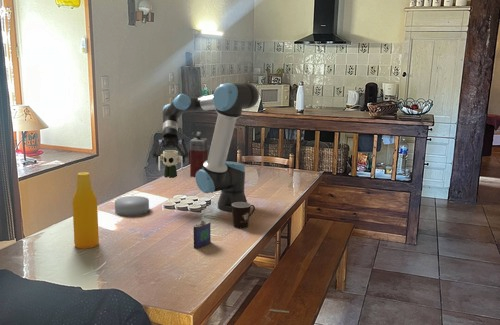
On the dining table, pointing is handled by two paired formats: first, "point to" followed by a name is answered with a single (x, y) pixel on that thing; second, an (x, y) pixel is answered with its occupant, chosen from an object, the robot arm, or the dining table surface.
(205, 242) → the flask
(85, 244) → the beer bottle
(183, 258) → the dining table surface
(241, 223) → the coffee mug
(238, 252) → the dining table surface
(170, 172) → the character mug
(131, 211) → the plinth
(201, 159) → the glass decanter
